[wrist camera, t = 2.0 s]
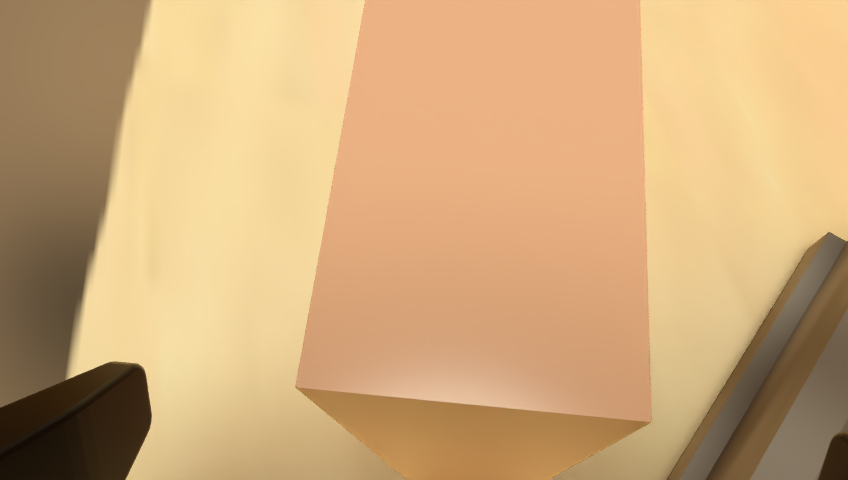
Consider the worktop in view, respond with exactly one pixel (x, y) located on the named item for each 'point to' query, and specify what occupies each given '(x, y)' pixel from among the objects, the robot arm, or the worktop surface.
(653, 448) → the worktop surface
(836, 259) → the rack
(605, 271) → the clay bar
